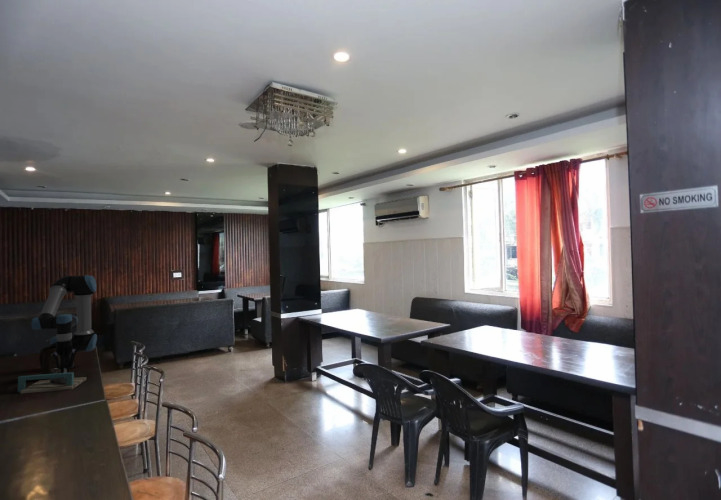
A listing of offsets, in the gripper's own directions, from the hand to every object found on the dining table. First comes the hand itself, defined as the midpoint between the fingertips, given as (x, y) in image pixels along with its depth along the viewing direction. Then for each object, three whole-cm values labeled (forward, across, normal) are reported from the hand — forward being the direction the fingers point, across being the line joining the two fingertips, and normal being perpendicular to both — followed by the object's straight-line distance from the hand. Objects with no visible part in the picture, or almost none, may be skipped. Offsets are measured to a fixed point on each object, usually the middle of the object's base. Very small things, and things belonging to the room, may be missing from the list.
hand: (64, 379), depth 237 cm
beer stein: (+3, +1, -25) cm, 26 cm away
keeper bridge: (+3, +10, +3) cm, 11 cm away
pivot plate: (+3, +5, 0) cm, 5 cm away
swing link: (+1, +2, 0) cm, 3 cm away
